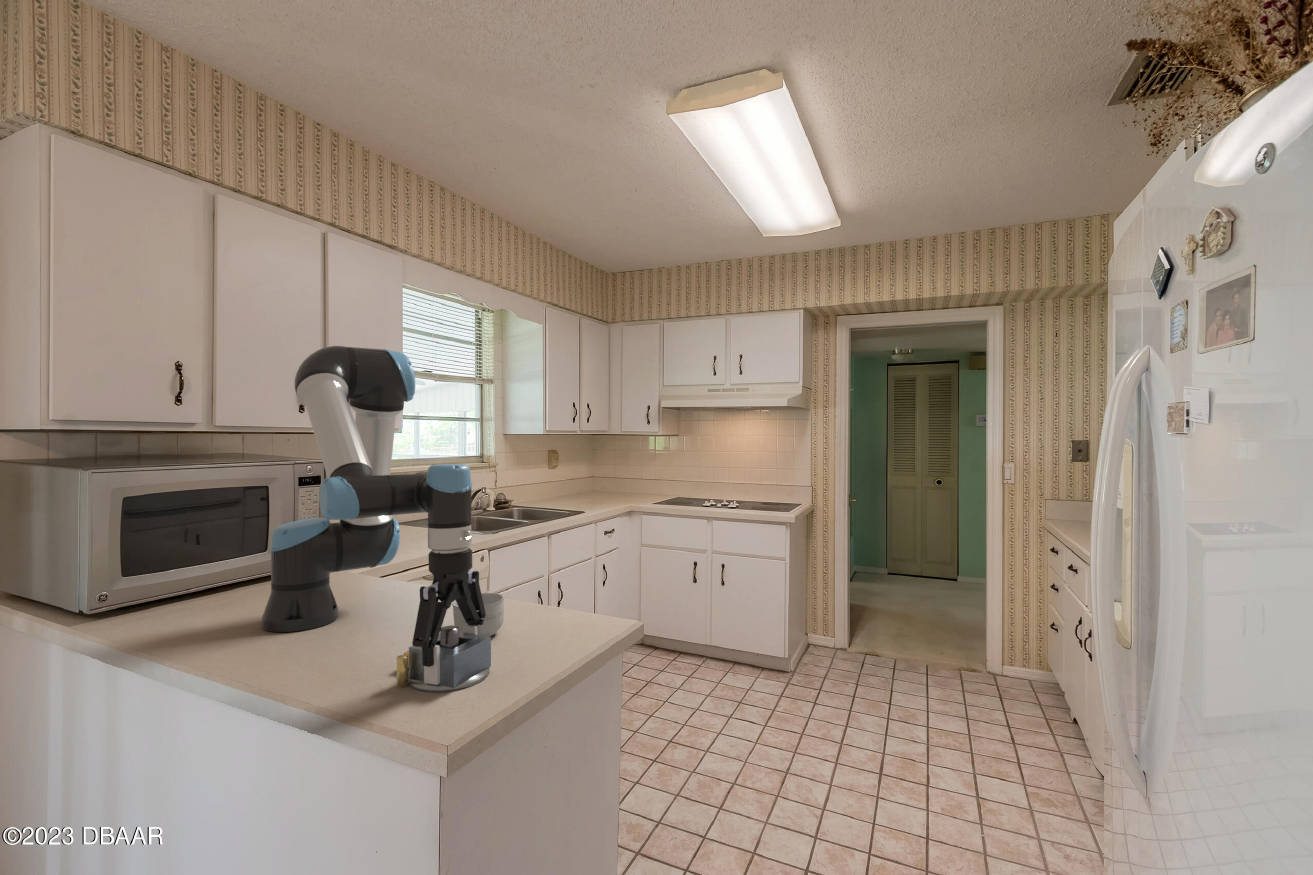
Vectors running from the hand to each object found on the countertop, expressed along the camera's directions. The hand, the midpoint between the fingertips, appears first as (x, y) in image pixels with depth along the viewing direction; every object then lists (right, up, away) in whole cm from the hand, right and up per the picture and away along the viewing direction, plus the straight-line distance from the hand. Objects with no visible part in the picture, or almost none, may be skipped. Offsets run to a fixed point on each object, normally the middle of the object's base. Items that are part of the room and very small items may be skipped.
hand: (452, 670), depth 108 cm
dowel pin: (-7, -1, -4) cm, 8 cm away
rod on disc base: (-1, -1, 0) cm, 1 cm away
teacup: (-1, -1, +23) cm, 23 cm away
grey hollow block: (-3, 0, +1) cm, 3 cm away
